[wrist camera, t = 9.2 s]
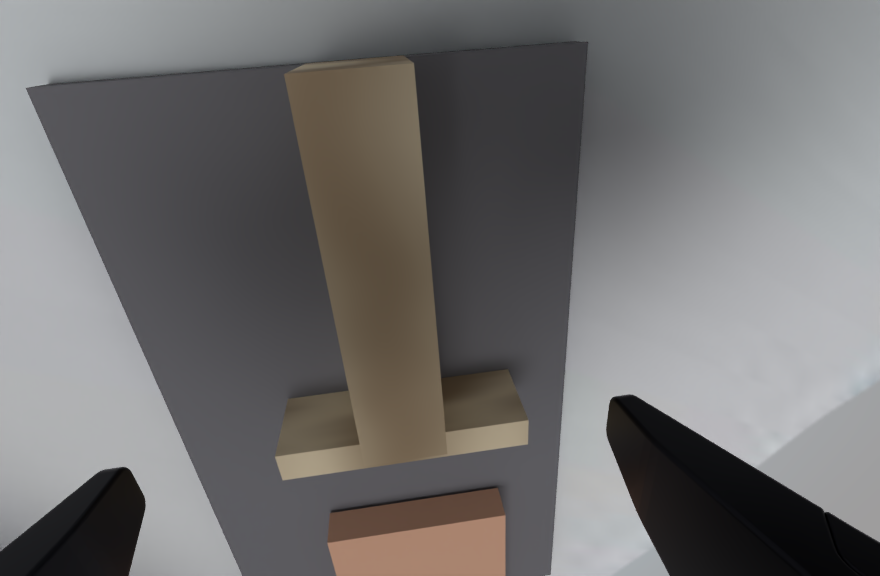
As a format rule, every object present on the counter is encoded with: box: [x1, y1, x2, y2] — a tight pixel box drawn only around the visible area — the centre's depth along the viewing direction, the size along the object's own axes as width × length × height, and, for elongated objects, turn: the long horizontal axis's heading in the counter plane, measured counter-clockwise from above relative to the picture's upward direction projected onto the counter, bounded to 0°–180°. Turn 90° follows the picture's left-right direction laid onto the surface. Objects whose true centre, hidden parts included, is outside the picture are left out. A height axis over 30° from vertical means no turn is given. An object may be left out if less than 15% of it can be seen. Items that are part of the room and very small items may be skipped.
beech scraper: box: [275, 55, 529, 480], centre depth 15 cm, size 9×13×4 cm
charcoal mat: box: [26, 41, 588, 576], centre depth 21 cm, size 16×27×1 cm, turn 4°
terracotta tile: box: [327, 488, 505, 576], centre depth 24 cm, size 8×2×8 cm
